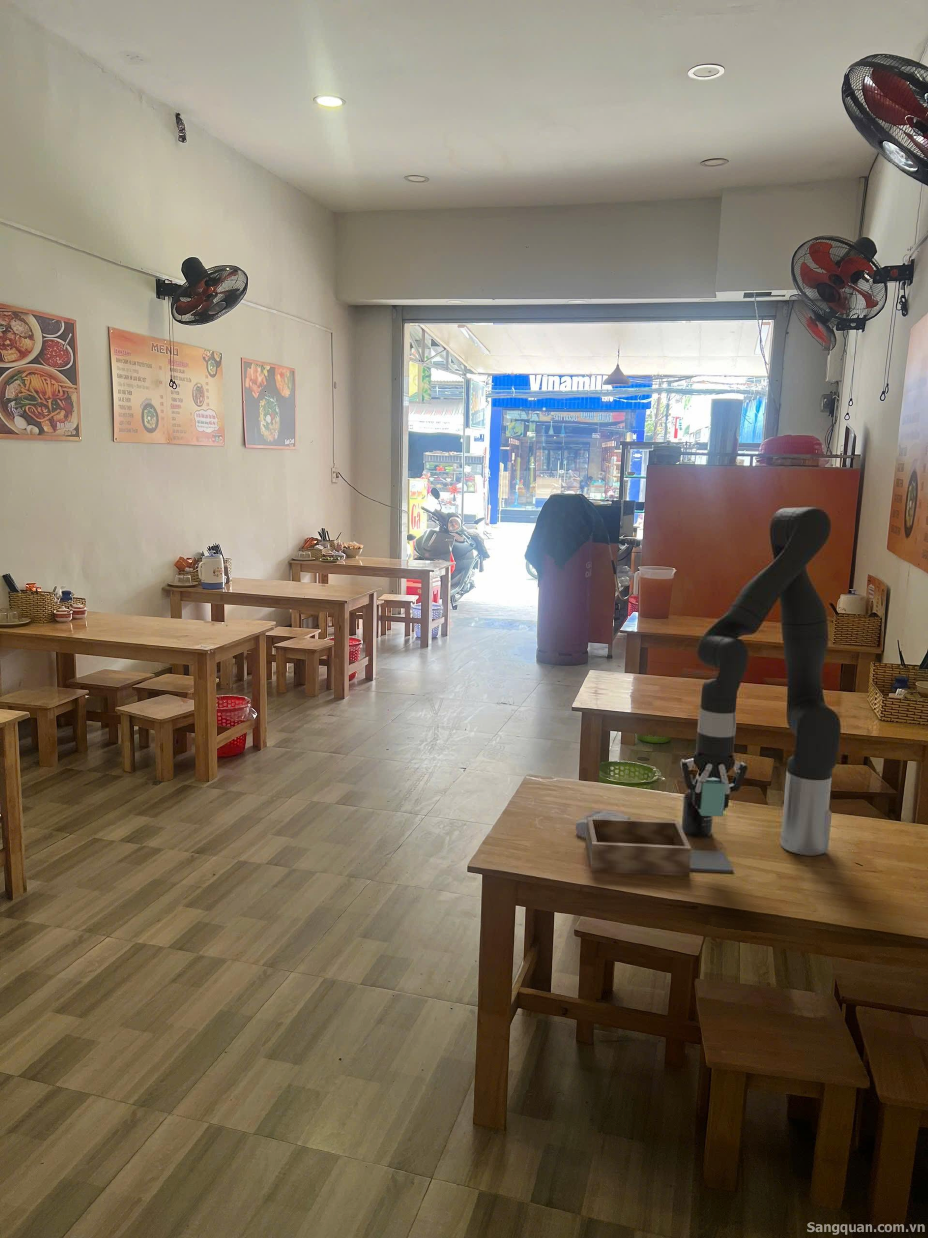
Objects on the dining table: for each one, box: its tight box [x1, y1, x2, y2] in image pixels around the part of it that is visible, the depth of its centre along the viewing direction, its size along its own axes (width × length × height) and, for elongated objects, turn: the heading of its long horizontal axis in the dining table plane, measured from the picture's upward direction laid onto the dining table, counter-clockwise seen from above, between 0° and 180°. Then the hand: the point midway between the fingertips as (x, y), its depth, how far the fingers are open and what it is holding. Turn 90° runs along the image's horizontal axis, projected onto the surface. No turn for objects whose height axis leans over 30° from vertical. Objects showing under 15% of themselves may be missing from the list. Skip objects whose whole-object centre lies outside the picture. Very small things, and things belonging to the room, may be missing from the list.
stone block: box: [575, 810, 632, 839], centre depth 200 cm, size 12×5×10 cm
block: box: [698, 778, 726, 817], centre depth 183 cm, size 4×4×7 cm
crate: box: [585, 817, 692, 877], centre depth 186 cm, size 20×14×6 cm
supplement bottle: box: [681, 778, 714, 838], centre depth 200 cm, size 7×7×12 cm
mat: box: [690, 849, 735, 874], centre depth 186 cm, size 9×9×1 cm
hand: (709, 808), depth 184 cm, fingers closed on block, 4 cm apart
